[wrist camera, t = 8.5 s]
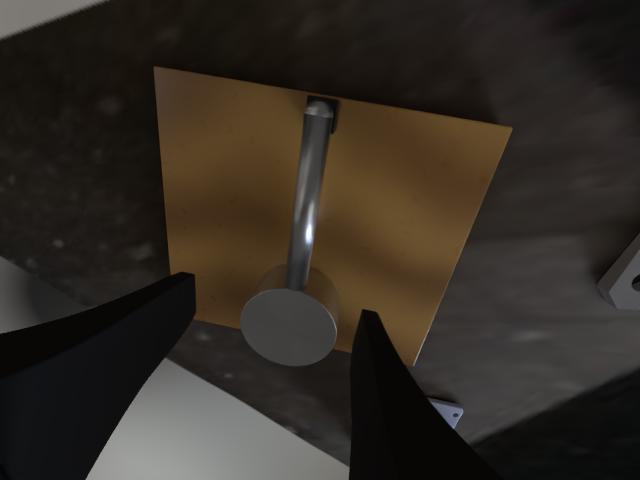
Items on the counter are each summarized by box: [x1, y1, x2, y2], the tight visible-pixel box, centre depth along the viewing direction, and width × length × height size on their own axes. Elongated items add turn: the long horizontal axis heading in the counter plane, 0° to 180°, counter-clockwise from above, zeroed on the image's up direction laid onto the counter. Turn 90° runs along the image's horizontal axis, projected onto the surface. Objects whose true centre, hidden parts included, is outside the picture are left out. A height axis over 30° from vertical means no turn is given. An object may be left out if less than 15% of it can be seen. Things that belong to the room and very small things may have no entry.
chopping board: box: [154, 66, 513, 366], centre depth 20 cm, size 18×20×2 cm
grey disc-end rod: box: [240, 95, 341, 366], centre depth 18 cm, size 17×6×3 cm, turn 171°
